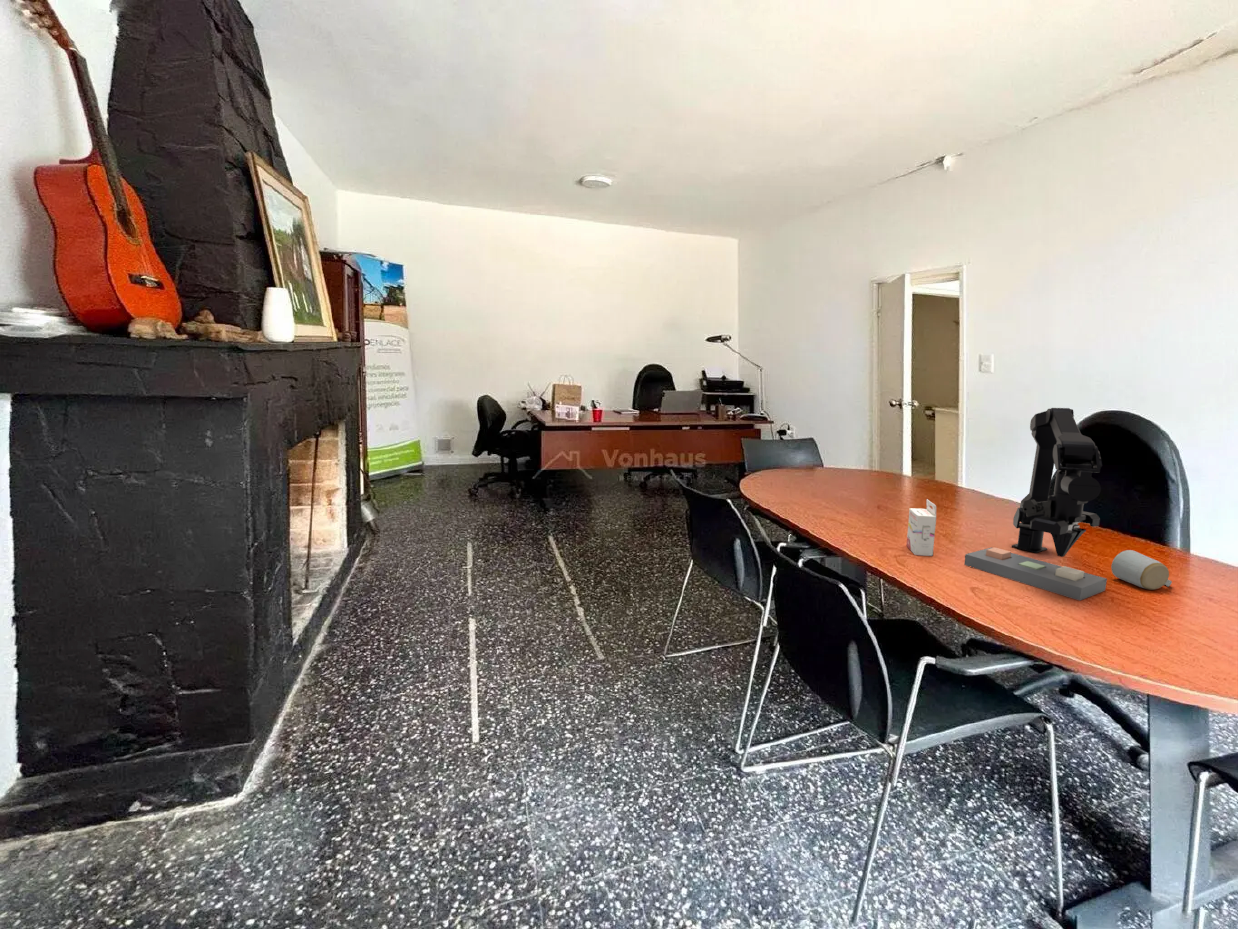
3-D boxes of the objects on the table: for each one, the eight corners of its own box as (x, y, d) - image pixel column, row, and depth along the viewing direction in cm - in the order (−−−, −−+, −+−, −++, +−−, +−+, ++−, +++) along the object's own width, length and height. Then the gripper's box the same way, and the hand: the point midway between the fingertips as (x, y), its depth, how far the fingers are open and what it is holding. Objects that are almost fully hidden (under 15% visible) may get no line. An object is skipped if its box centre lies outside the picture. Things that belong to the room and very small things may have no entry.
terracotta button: (994, 556, 149) (995, 547, 148) (1010, 560, 145) (1011, 551, 145) (985, 558, 147) (986, 549, 146) (1001, 563, 143) (1002, 554, 143)
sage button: (1026, 570, 142) (1027, 561, 141) (1043, 575, 138) (1045, 565, 138) (1017, 573, 140) (1018, 563, 140) (1035, 578, 137) (1036, 568, 136)
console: (990, 557, 153) (991, 547, 153) (1105, 590, 131) (1107, 578, 130) (964, 564, 148) (965, 554, 147) (1079, 600, 125) (1081, 588, 125)
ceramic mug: (1140, 592, 130) (1146, 561, 129) (1107, 578, 138) (1113, 549, 137) (1182, 591, 131) (1188, 560, 129) (1147, 578, 139) (1153, 549, 137)
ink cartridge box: (905, 545, 164) (909, 497, 161) (923, 546, 163) (927, 498, 160) (914, 555, 156) (919, 504, 153) (933, 556, 155) (938, 505, 152)
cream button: (1063, 575, 135) (1064, 566, 134) (1082, 581, 131) (1084, 571, 131) (1054, 578, 133) (1056, 569, 132) (1074, 584, 129) (1075, 574, 129)
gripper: (1051, 483, 141) (1044, 542, 144) (1009, 490, 133) (1002, 552, 136) (1105, 491, 132) (1095, 554, 134) (1063, 499, 123) (1054, 566, 126)
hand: (1060, 556), depth 133 cm, fingers closed
